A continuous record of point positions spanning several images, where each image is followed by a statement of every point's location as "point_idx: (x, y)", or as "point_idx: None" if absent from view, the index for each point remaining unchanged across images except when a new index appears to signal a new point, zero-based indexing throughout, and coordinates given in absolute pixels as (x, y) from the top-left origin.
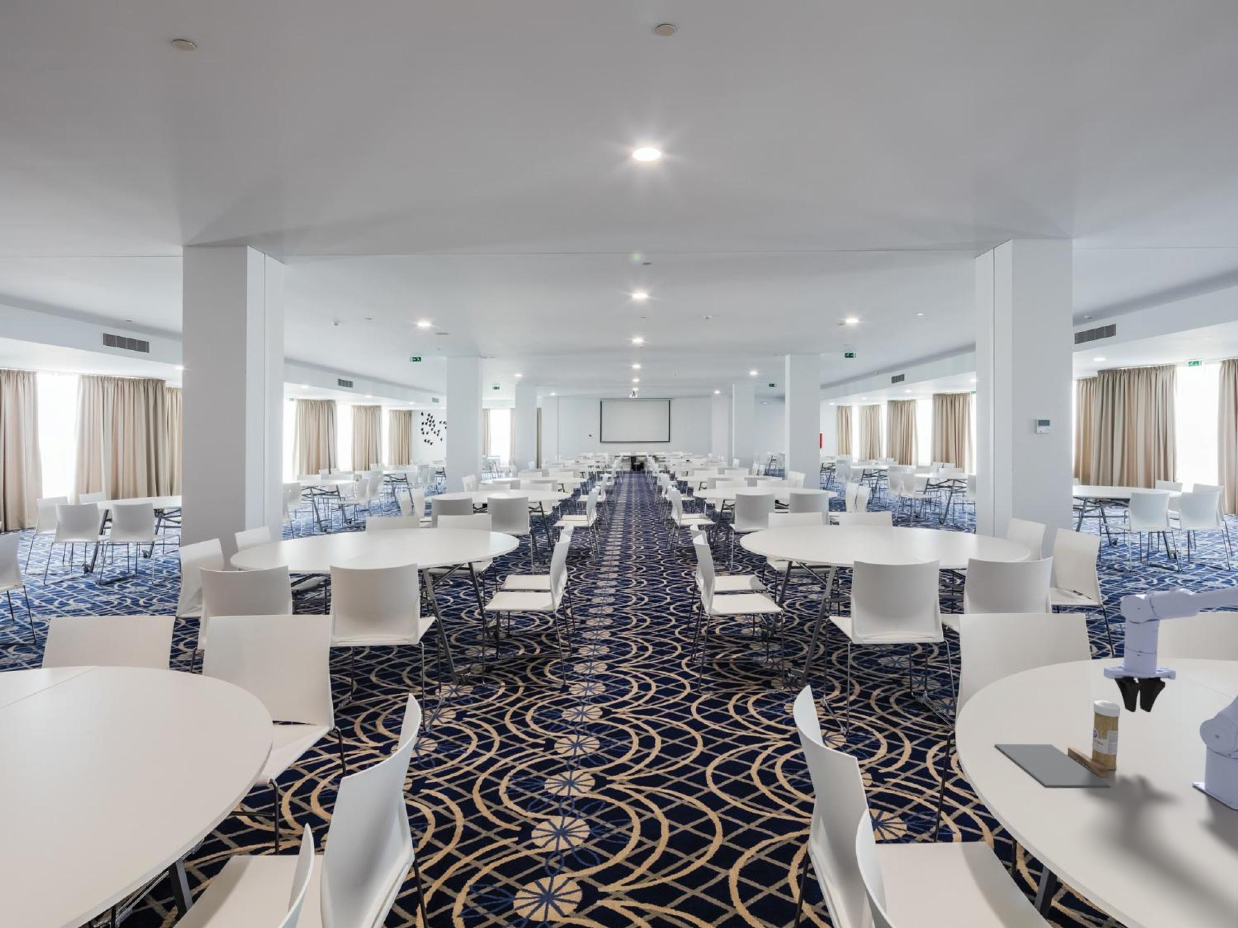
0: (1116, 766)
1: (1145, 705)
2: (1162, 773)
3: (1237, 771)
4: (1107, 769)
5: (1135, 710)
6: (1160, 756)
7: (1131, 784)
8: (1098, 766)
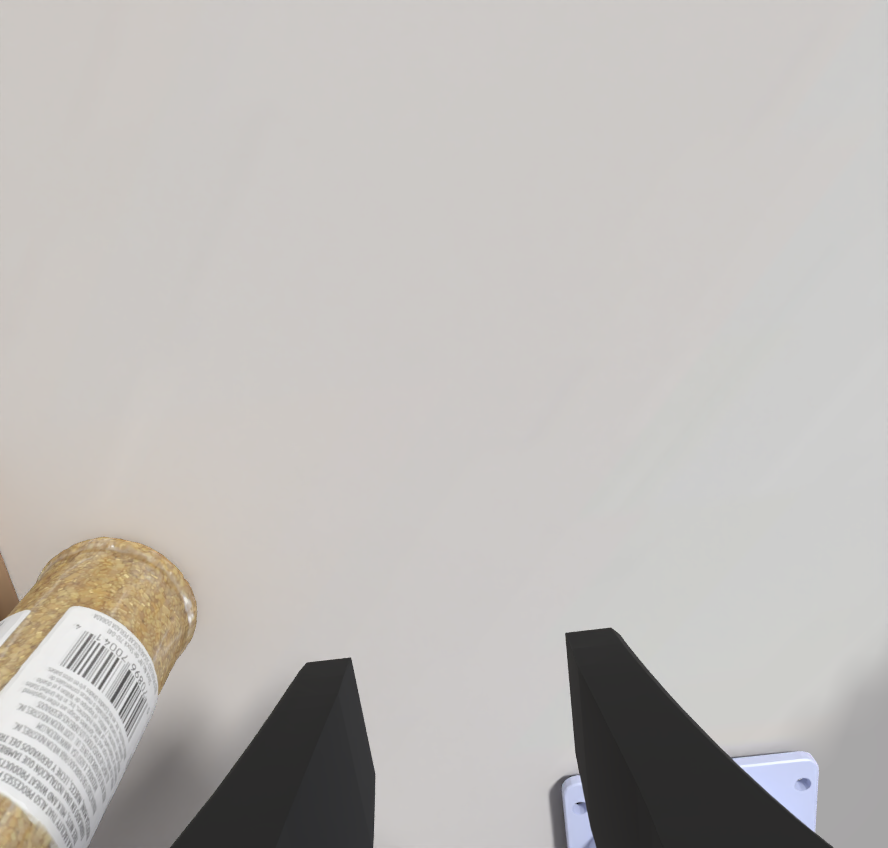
0: (186, 645)
1: (591, 783)
2: (480, 657)
3: None
4: None
5: (372, 809)
6: (670, 394)
7: (184, 808)
8: None
